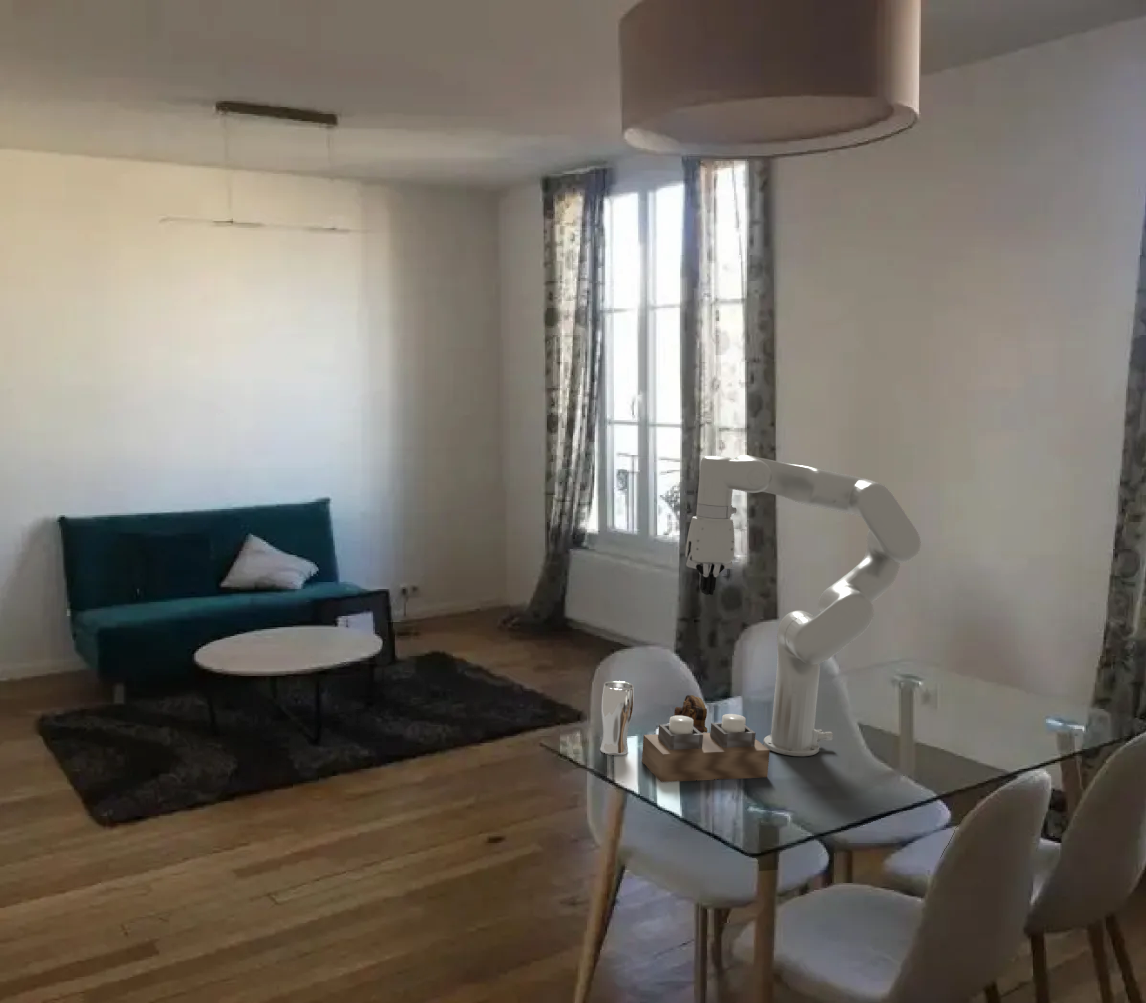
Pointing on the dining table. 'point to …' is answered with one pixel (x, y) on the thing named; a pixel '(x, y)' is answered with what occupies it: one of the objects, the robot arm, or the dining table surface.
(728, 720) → the knob
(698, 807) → the dining table surface
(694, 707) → the wooden carving
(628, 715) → the beer glass
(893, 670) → the dining table surface
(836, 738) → the dining table surface
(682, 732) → the knob
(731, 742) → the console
